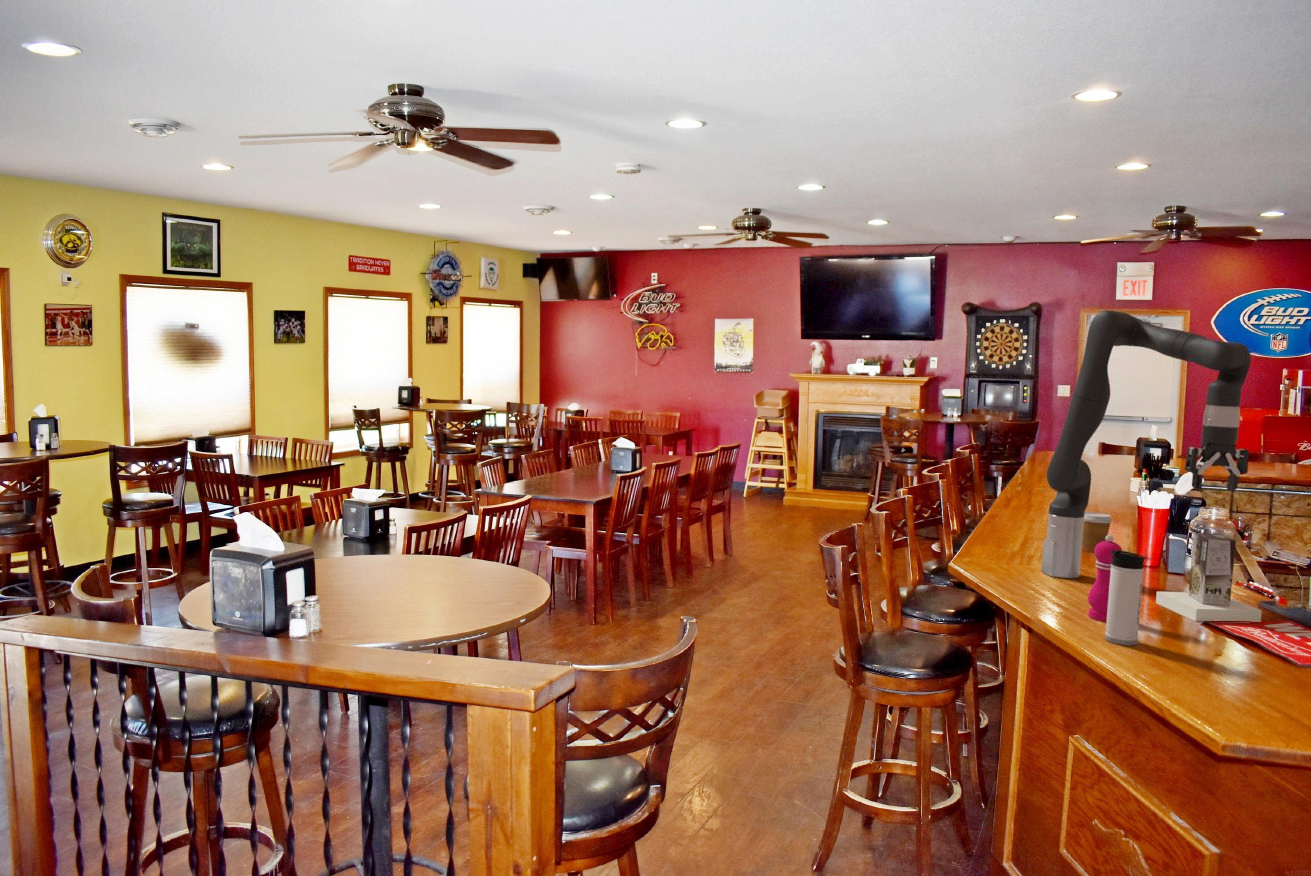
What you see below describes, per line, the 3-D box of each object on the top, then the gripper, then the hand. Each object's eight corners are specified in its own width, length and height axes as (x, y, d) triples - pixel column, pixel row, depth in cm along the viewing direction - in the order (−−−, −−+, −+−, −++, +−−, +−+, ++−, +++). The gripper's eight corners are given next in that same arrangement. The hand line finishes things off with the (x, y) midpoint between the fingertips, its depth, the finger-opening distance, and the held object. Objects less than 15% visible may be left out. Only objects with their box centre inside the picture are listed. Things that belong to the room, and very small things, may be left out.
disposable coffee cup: (1111, 550, 301) (1114, 514, 300) (1107, 555, 293) (1110, 518, 292) (1079, 546, 306) (1082, 510, 305) (1075, 551, 298) (1077, 514, 297)
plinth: (1195, 621, 219) (1196, 608, 219) (1155, 602, 235) (1156, 591, 235) (1260, 622, 220) (1261, 610, 219) (1216, 604, 236) (1217, 592, 235)
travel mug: (1097, 636, 203) (1104, 547, 201) (1126, 637, 204) (1133, 547, 202) (1114, 645, 197) (1121, 553, 195) (1143, 646, 198) (1151, 554, 196)
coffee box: (1231, 606, 222) (1237, 540, 221) (1202, 604, 223) (1208, 538, 222) (1214, 596, 231) (1220, 533, 230) (1187, 594, 232) (1192, 531, 231)
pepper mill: (1118, 624, 214) (1125, 539, 212) (1084, 618, 218) (1090, 535, 216) (1121, 617, 220) (1128, 534, 218) (1088, 612, 224) (1094, 530, 222)
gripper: (1238, 424, 229) (1232, 489, 230) (1182, 422, 228) (1176, 487, 230) (1259, 427, 221) (1252, 493, 223) (1202, 424, 221) (1195, 491, 222)
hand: (1213, 490), depth 226 cm, fingers open, 8 cm apart
